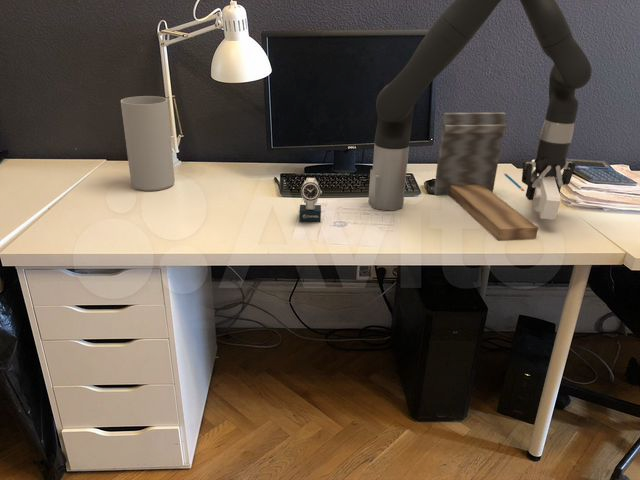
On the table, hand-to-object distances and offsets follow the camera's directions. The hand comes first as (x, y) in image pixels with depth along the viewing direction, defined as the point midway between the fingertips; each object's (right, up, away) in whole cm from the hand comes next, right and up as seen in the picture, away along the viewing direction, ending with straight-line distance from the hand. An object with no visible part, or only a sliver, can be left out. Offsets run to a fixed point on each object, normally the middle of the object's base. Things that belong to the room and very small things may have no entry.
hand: (541, 198), depth 145 cm
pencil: (+2, +7, +28) cm, 29 cm away
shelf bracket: (0, -2, +3) cm, 4 cm away
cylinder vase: (-110, +5, +16) cm, 111 cm away
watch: (-63, -6, -5) cm, 63 cm away
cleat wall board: (-14, -4, +1) cm, 15 cm away
